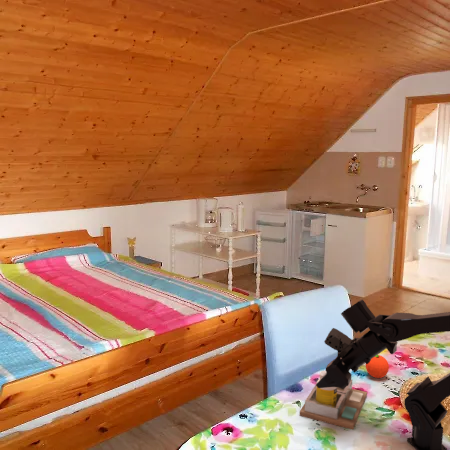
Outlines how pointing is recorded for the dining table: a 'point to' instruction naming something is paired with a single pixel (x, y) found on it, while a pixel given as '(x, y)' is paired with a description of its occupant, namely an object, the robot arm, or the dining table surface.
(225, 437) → the dining table surface
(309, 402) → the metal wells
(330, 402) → the supplement bottle
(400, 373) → the dining table surface
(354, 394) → the socket board
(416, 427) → the robot arm
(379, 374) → the clementine
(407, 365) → the dining table surface
